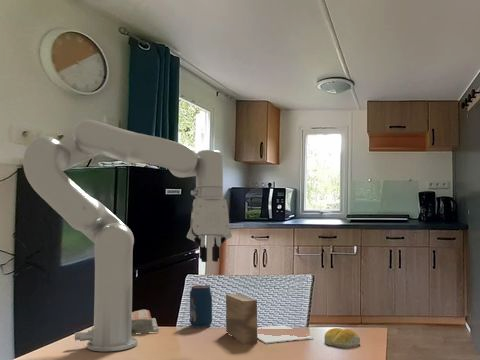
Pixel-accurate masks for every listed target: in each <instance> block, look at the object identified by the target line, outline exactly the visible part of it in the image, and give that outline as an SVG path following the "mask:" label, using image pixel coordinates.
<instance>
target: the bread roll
mask: <svg viewBox="0 0 480 360" xmlns="http://www.w3.org/2000/svg"><path fill="white" fill-rule="evenodd" d="M324 343H325V344H326V345H328V346H332V347H336V348H345V349H347V348H354V347H357V346H359V345H360V344H361V338H360V336H359V335H358V333H357V332H355V331H354V330H351V329H350V328H345V329H342V328H340V327H336V328H334V327H333V328H331V329H328V330H327V331H326V332H325V333H324Z"/></svg>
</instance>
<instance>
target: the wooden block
mask: <svg viewBox="0 0 480 360" xmlns="http://www.w3.org/2000/svg"><path fill="white" fill-rule="evenodd" d="M225 316H226V317H225V332H228V333H229V334H230V335H232V336H233V337H234V338H235V339H234V338H233V337H232V338H233V339H234V340H236V339H237V340H238V341H237V340H236V341H237V342H239V343H240V344H242V345H250V344H251V343H252V344H258V339H257V327H258V300H257V299H254V298H251V297H249V296H246V295H243V294H240V293H228V294H225ZM230 335H229V336H230Z"/></svg>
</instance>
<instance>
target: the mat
mask: <svg viewBox="0 0 480 360" xmlns="http://www.w3.org/2000/svg"><path fill="white" fill-rule="evenodd" d="M261 328H262V329H293V328H292V327H290V326H288V325H286V324H281V325H270V326H268V325H267V326H257V329H261ZM257 338H258V339H259V340H258V339H257V340H258V341H260V340H261V341H260V342H262V343H263V344H266V345H267V344H269V345H270V344H278V343H277V342H279V343H287V342H286V341H289V342H294V341H293V340H299V339H309V338H313V339H314V337H313V336H311V335H309V336H307V337H297V336H294V335H293V336H290V335H281V336H272V335H264V334H257ZM309 340H310V339H309ZM299 341H300V340H299Z"/></svg>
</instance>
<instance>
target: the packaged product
mask: <svg viewBox="0 0 480 360" xmlns="http://www.w3.org/2000/svg"><path fill="white" fill-rule="evenodd" d="M151 315H152V314H151V312H150V310H149V309H139V310H134V311H132V331H131V334H136V333H149V332H158V333H159V326H158V324H157V323H158V322H157V319H156V318H155V317H153V318H152V316H151Z"/></svg>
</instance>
